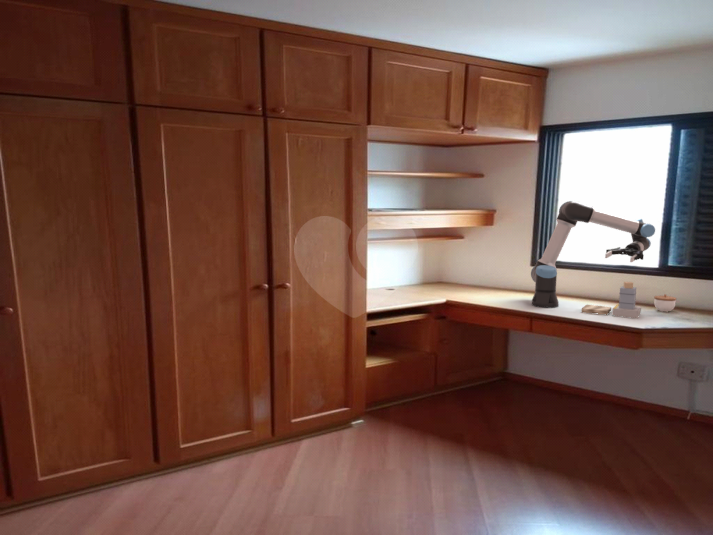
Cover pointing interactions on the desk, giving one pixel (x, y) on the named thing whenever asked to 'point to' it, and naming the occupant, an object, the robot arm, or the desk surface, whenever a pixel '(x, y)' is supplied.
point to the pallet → (596, 309)
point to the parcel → (628, 285)
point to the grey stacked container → (627, 298)
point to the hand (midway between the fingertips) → (618, 257)
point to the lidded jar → (664, 302)
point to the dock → (626, 311)
